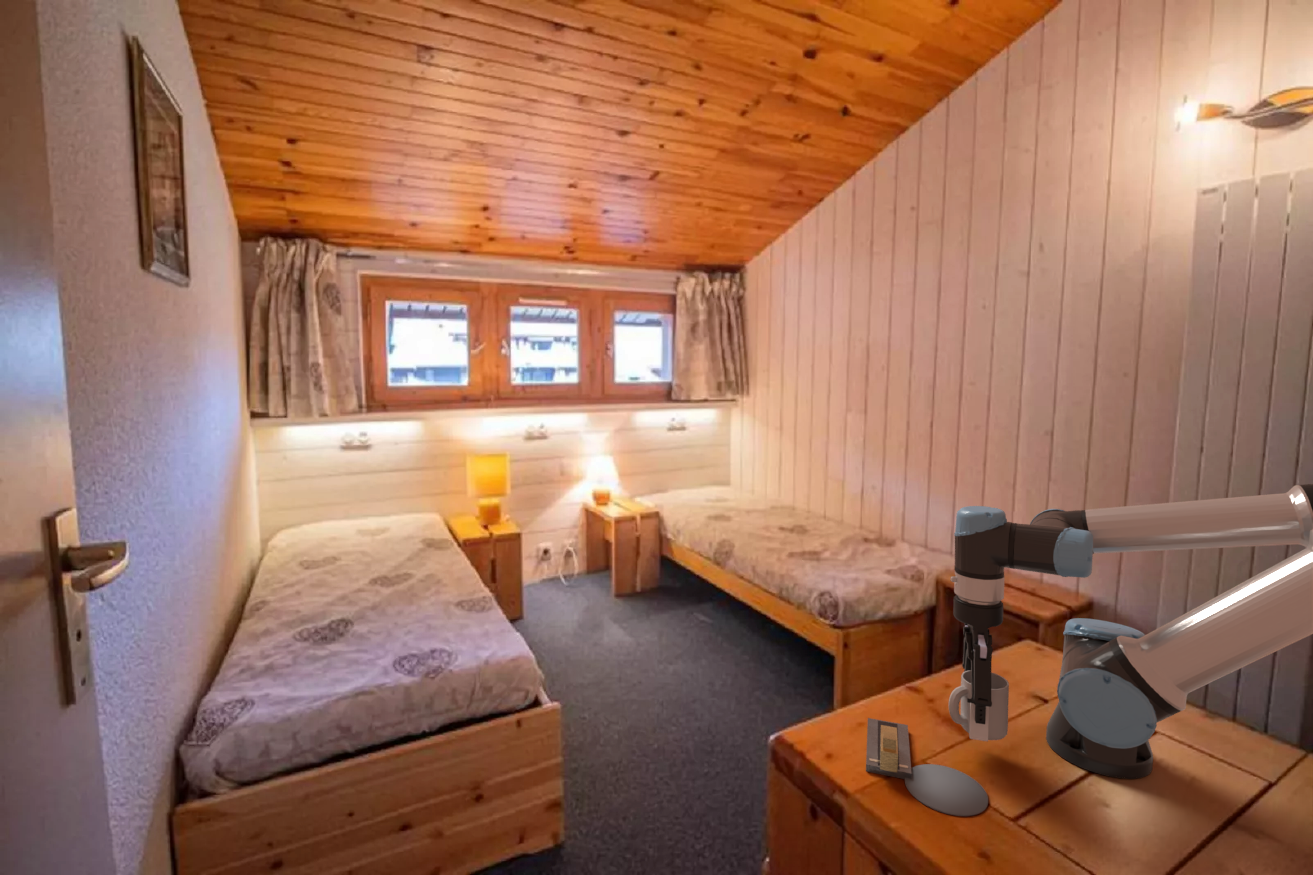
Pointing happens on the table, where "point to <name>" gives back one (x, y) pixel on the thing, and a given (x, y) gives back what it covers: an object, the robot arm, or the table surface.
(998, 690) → the cup
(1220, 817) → the table surface
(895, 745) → the brass stepped block
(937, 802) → the coaster
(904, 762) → the lock plate
